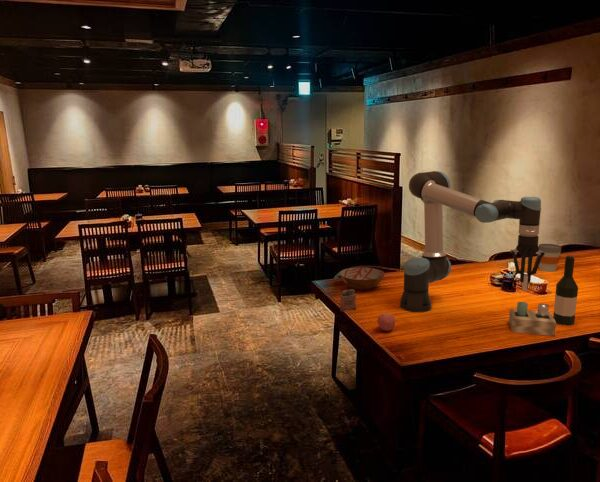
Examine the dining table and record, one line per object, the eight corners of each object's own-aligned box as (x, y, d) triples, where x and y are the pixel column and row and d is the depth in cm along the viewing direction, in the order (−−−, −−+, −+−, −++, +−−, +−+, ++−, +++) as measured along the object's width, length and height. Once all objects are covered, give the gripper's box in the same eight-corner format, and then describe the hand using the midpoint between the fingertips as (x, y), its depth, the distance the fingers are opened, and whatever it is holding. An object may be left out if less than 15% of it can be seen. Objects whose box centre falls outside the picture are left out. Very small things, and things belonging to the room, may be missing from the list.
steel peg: (537, 319, 195) (539, 306, 194) (536, 315, 199) (537, 302, 197) (548, 320, 194) (549, 307, 192) (546, 316, 197) (547, 303, 196)
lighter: (341, 311, 223) (341, 291, 220) (339, 309, 226) (338, 289, 224) (357, 309, 225) (357, 290, 222) (354, 307, 228) (354, 288, 226)
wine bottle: (555, 317, 210) (561, 252, 204) (576, 321, 205) (583, 255, 199) (550, 322, 204) (557, 256, 198) (572, 327, 199) (579, 259, 193)
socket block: (512, 332, 195) (513, 318, 194) (508, 321, 206) (509, 308, 205) (554, 336, 190) (556, 322, 189) (548, 325, 202) (550, 312, 200)
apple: (398, 329, 200) (398, 312, 199) (389, 334, 195) (389, 317, 193) (383, 325, 205) (383, 308, 204) (374, 330, 200) (374, 313, 198)
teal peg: (517, 317, 197) (518, 304, 196) (515, 314, 201) (516, 301, 200) (527, 318, 196) (528, 305, 195) (525, 315, 200) (527, 302, 199)
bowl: (393, 290, 253) (393, 276, 251) (352, 296, 244) (352, 282, 242) (369, 278, 276) (370, 265, 274) (331, 283, 267) (331, 270, 265)
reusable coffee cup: (531, 268, 288) (533, 244, 285) (547, 266, 292) (549, 242, 289) (547, 273, 277) (549, 249, 273) (564, 271, 280) (566, 247, 277)
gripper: (512, 236, 189) (508, 291, 194) (547, 237, 185) (543, 293, 190) (510, 232, 196) (506, 286, 201) (544, 233, 192) (540, 288, 197)
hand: (524, 289), depth 196 cm, fingers closed
